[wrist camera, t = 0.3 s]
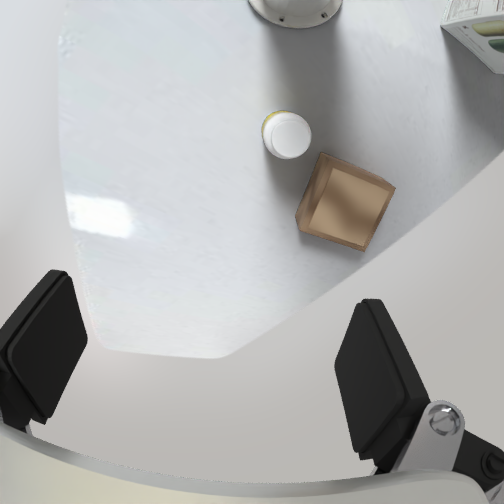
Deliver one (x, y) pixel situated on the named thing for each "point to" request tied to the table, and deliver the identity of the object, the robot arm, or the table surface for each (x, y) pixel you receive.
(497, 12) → the supplement box
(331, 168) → the brown square tray
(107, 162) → the table surface
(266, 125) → the supplement bottle
